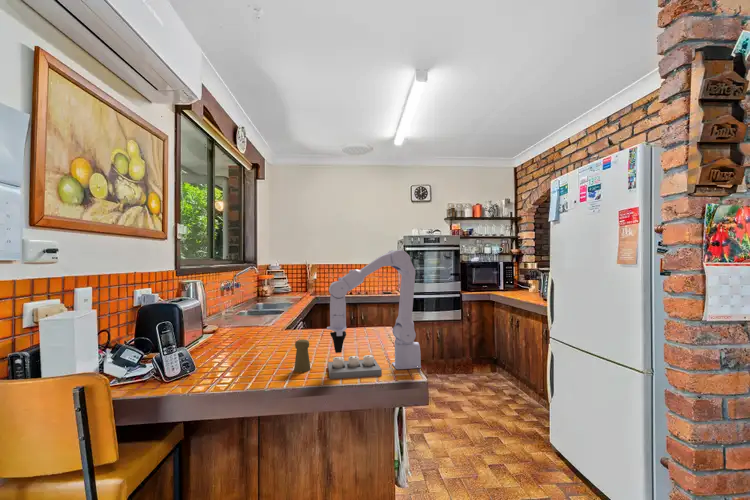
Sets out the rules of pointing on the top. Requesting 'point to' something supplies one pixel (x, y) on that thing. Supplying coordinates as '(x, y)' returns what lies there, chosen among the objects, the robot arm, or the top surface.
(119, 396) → the top surface
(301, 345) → the cork
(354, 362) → the button
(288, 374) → the top surface
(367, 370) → the button panel
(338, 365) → the button
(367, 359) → the button
